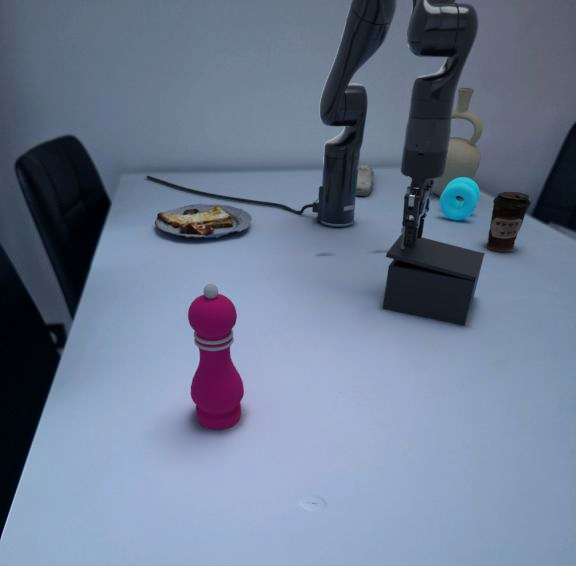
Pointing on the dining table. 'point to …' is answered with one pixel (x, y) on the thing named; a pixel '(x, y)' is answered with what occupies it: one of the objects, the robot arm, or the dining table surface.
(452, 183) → the donuts
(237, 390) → the pepper mill
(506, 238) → the coffee cup
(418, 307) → the dark hinged chest
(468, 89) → the vase
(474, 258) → the lid
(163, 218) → the food plate
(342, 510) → the dining table surface
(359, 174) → the long grey stone
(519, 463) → the dining table surface
